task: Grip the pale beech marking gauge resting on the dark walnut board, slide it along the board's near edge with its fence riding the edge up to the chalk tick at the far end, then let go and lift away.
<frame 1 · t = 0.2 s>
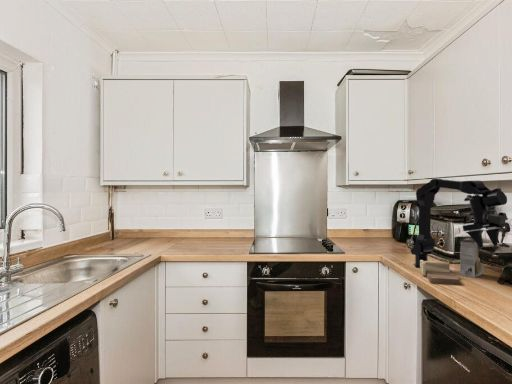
hand: (488, 246, 140), 15 cm above the worktop, tool pointing down, fingers open, 9 cm apart
walnut board: (441, 278, 149), on the worktop
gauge: (436, 270, 155), point 2 cm above the worktop, touching walnut board
grey upright block: (471, 275, 155), on the worktop
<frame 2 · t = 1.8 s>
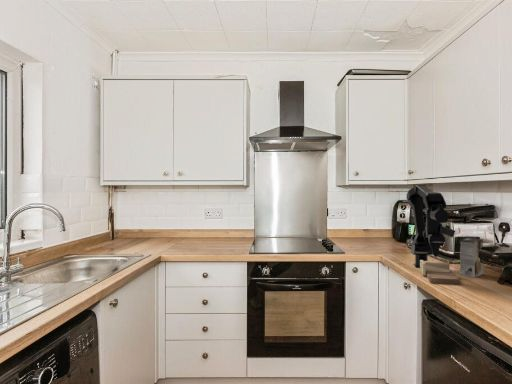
hand: (433, 254, 155), 9 cm above the worktop, tool pointing down, fingers open, 9 cm apart
nothing on the worktop moved.
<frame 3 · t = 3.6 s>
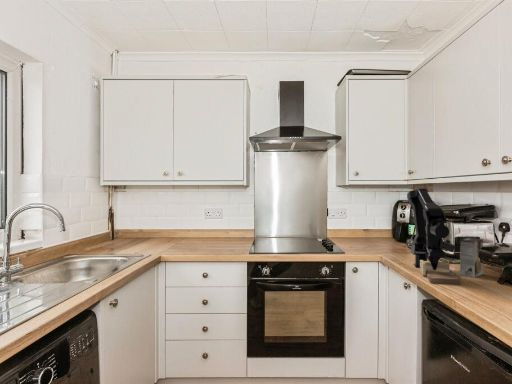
hand: (433, 269, 155), 3 cm above the worktop, tool pointing down, fingers closed on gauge, 3 cm apart
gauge: (436, 270, 155), point 2 cm above the worktop, touching gripper, walnut board
everything else where it was.
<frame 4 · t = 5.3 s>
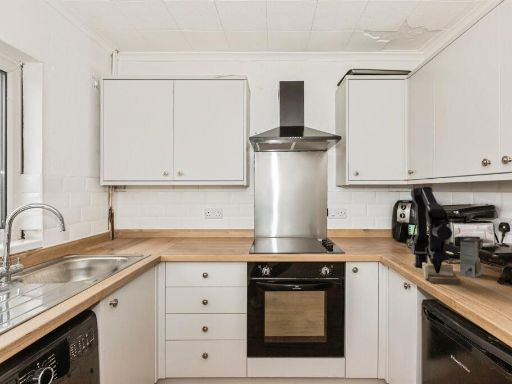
hand: (436, 272, 149), 3 cm above the worktop, tool pointing down, fingers closed on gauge, 3 cm apart
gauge: (439, 274, 149), point 2 cm above the worktop, touching gripper
everything else where it was.
when the fingers open (3 cm above the worktop, at t = 7.1 s): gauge stays where it is, resting on walnut board.
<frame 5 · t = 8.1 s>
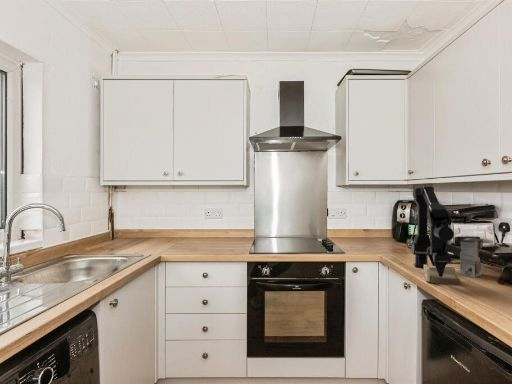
hand: (438, 273, 145), 3 cm above the worktop, tool pointing down, fingers open, 9 cm apart
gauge: (441, 276, 145), point 2 cm above the worktop, touching walnut board
everything else where it was.
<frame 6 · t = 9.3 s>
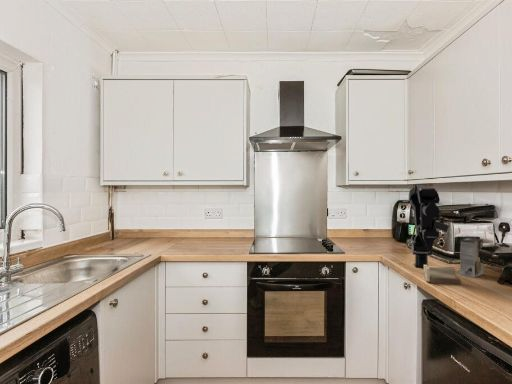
hand: (427, 249, 157), 12 cm above the worktop, tool pointing down, fingers open, 9 cm apart
nothing on the worktop moved.
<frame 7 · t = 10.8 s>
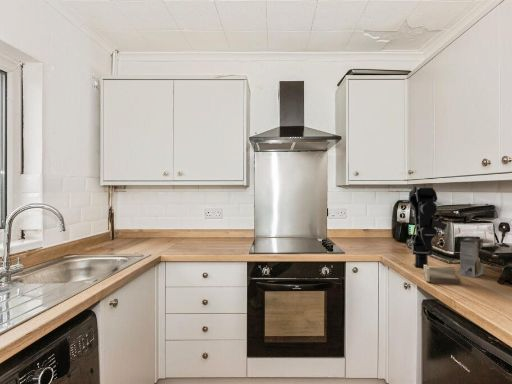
hand: (426, 247, 159), 12 cm above the worktop, tool pointing down, fingers open, 9 cm apart
nothing on the worktop moved.
at the end: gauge 0.0 cm from the target spot, point 2.0 cm above the worktop; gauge tilted 0°; the gripper is holding nothing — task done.
